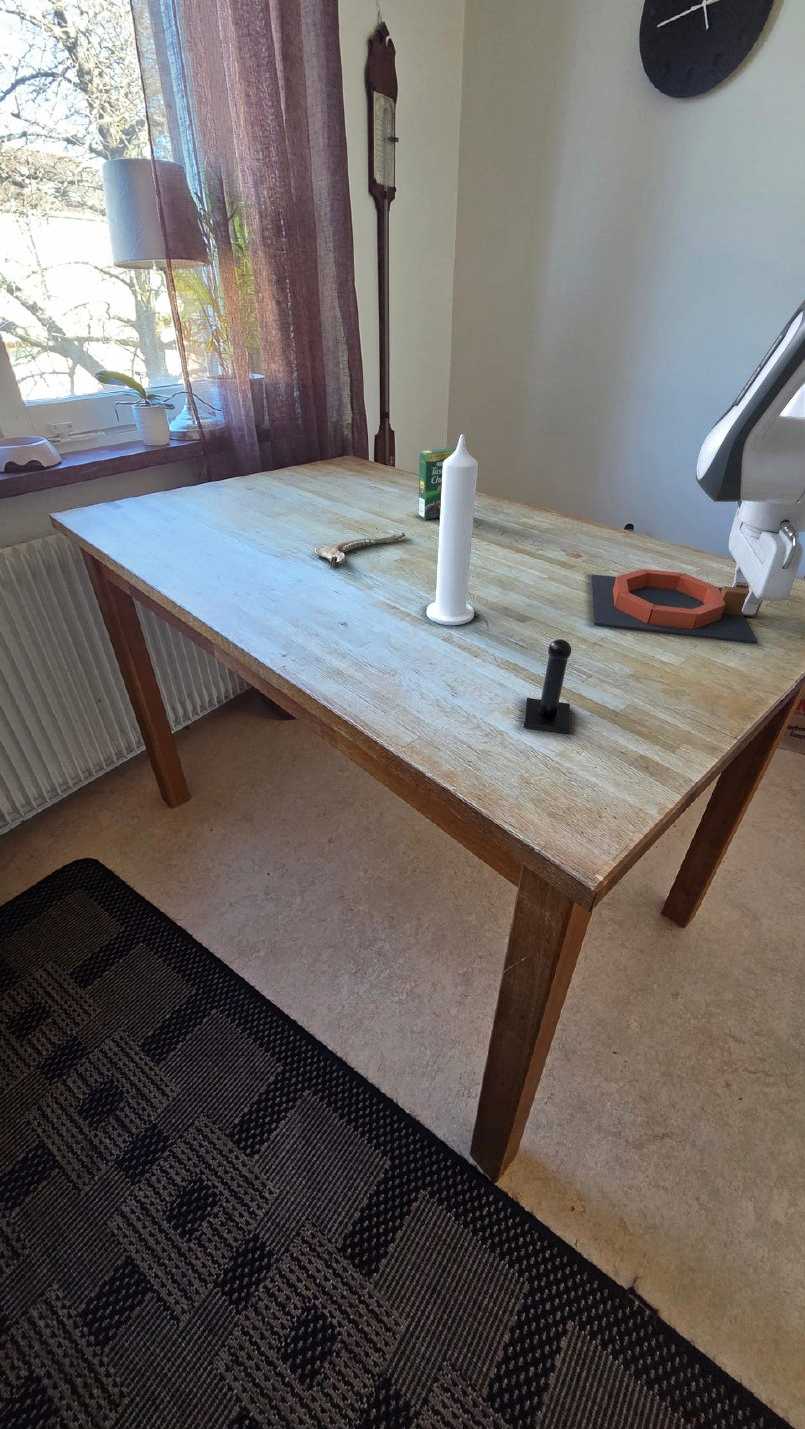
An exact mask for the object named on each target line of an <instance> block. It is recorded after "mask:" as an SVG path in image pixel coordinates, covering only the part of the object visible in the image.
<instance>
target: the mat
mask: <svg viewBox="0 0 805 1429" xmlns="http://www.w3.org/2000/svg"><path fill="white" fill-rule="evenodd" d="M616 577H617V576H613V575H600V574H591V575H590V582H591V599H592V613H593V616H592V617H593V625H594V626H601V627H609V628H617V629H626V630H634V631H644V632H652V633H653V632H654V633H660V634H669V635H679V636H688V637H696V638H706V639H712V640H713V639H715V640H722V641H723V640H724V641H731V642H739V643H748V644H756V642H757V640H756V638H755V636H754V634H753V632H752V630H751V628H750V626H749V624H748V622H747V620H746V618H745V615H736V614H726V613H722V615H721V618H720V619H719V620H717V621H714V622H711V623H709V624H706V625H704V626H701V627H698V628H696V629H686V628H677V627H668V626H660V625H651V624H649V623H648V624H647V623H645V622H643V621H641V620H639V619H637V618H635V617H633V616H631V615H629V614H627V613H625V612H623V611H621V610H619V609H617V608H616V607H615V604H614V596H613V588H614V584H615V580H616ZM717 587H718V589H719V591H720V593H721V591H722V588H723V586H717ZM629 593H631V594H633V595H635V596H637V597H639V598H642V599H644V600H646V601H648V602H650V603H652V604H654V605H658V606H667V607H677V608H686V609H694V608H697V607H700V606H702V605H704V603H703V601H700V600H698V599H696V598H693V597H691V596H689V595H687V594H684V593H682V592H680V591H678V590H673V589H663V588H654V587H641V588H638V589H635V590H632V591H629Z"/></svg>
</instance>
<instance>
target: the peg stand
mask: <svg viewBox="0 0 805 1429" xmlns="http://www.w3.org/2000/svg"><path fill="white" fill-rule="evenodd" d="M547 648H548V649H547V652H548V659H547V664H546V668H545V670H546V671H545V675H544V681H543V686H542V691H541V696H540V699H539V698H533V697H531V698H530V697H526V701H525V709H524V718H523V729H524V728H525V729H531V730H537V731H544V732H552V733H557V734H563V735H569V734H570V729H571V728H570V726H571V703H568V702H561V701H560V698H561V694H562V689H563V685H564V679H565V674H566V669H567V666H568V665H567V664H568V661H569V658H570V656H571V654H572V646H571V643H569V642H568V641H567V640H565V639H563V638H558V639H555V640H553V641H552V642H551V643H550V644H549V645H548V647H547Z"/></svg>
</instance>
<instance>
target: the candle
mask: <svg viewBox="0 0 805 1429" xmlns="http://www.w3.org/2000/svg"><path fill="white" fill-rule="evenodd" d="M456 448H457V449H456V451H455V452H454V453H453V454H452V455H451V456H450V457H448V458H447V459H445V460H444V462H443V474H442V493H441V512H440V517H439V531H438V532H439V533H438V550H437V551H438V553H437V571H436V572H437V574H436V589H435V590H436V593H435V601H433V602H431V603H430V604H429V605H428V606H427V608H426V616H427V617H428V618H429V620H430V621H432V622H434V623H437V624H440V625H444V626H445V625H446V626H459V625H464V624H467V623H469V622H471V621H472V620H473V619H474V616H475V610H474V608H473V606H472V605H470V604H469V603H467V601H468V587H469V578H470V564H471V552H472V540H473V539H472V538H473V529H474V519H475V518H474V516H475V506H476V505H475V503H476V494H477V483H478V470H479V462H478V460H476V459H475V458H474V457H473V456H472V455H471V454H470V453H469V452H468V449H467V444H466V436H465V434H463V433H462V434H460V436H459V440H458V443H457V446H456Z"/></svg>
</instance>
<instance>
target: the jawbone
mask: <svg viewBox="0 0 805 1429" xmlns="http://www.w3.org/2000/svg"><path fill="white" fill-rule="evenodd" d="M404 537H406V533H405V532H400V533H397V534H392V535H389V536H386V537H379V538H375V537H374V538H369V537H368V538H367V537H365V538H357V539H353V540H347V541H344V542H339V543H335V544H331V545H327V546H322V547H318V548H315V550H314V552H313V553H314V554H315V555H316V556H317V557H322V558H325V559H327V560H328V561H329V562H330V566H331V567H332V568H335V567H336V563H338V565H339V564H343V563H344V562H345V560H346V554H345V553H346V552H348V551H351V550H353V549H357V548H361V547H365V546H370V545H374V544H381V543H382V544H383V543H386V542H390V541H392V542H393V541H394V542H395V541H398V540H399V539H402V538H404Z"/></svg>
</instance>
